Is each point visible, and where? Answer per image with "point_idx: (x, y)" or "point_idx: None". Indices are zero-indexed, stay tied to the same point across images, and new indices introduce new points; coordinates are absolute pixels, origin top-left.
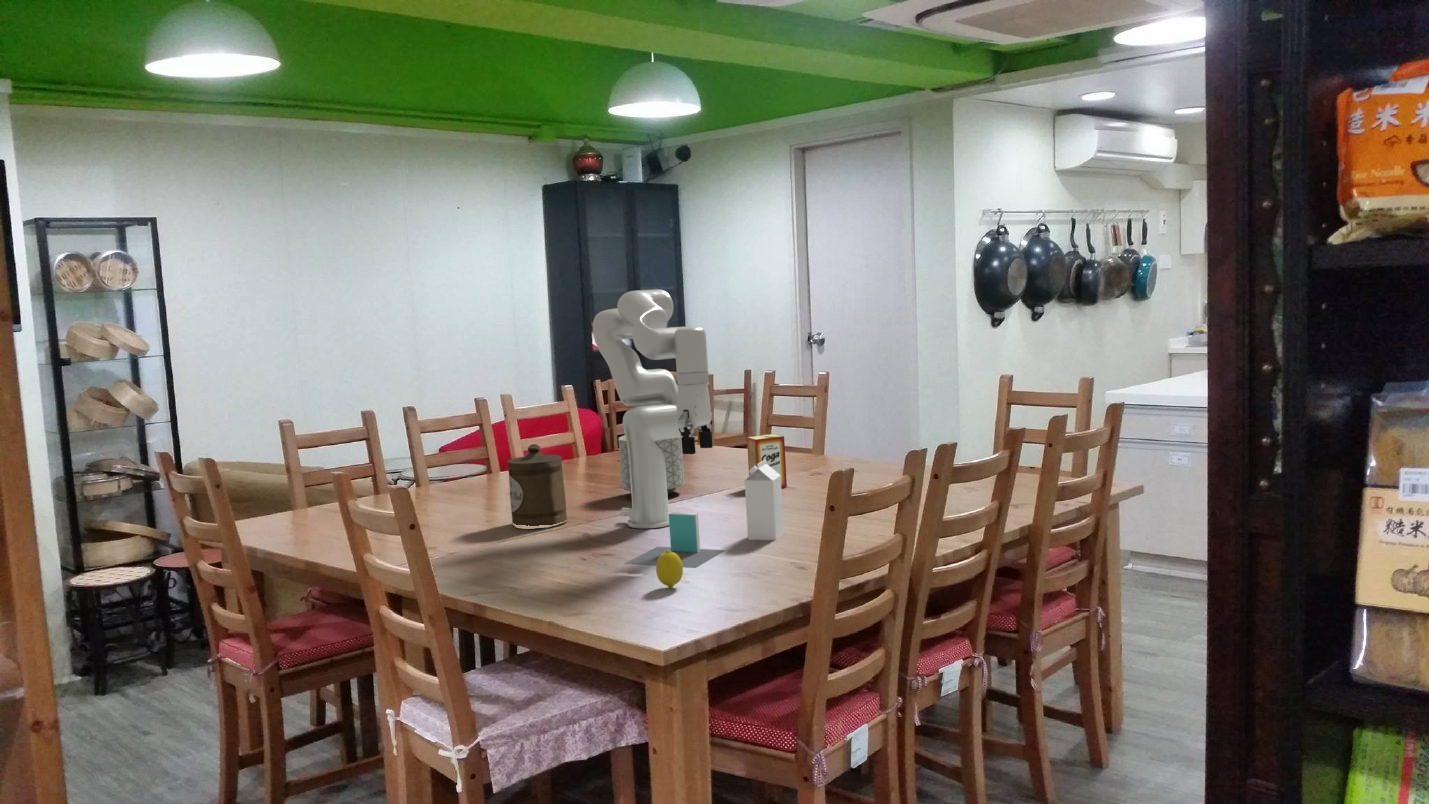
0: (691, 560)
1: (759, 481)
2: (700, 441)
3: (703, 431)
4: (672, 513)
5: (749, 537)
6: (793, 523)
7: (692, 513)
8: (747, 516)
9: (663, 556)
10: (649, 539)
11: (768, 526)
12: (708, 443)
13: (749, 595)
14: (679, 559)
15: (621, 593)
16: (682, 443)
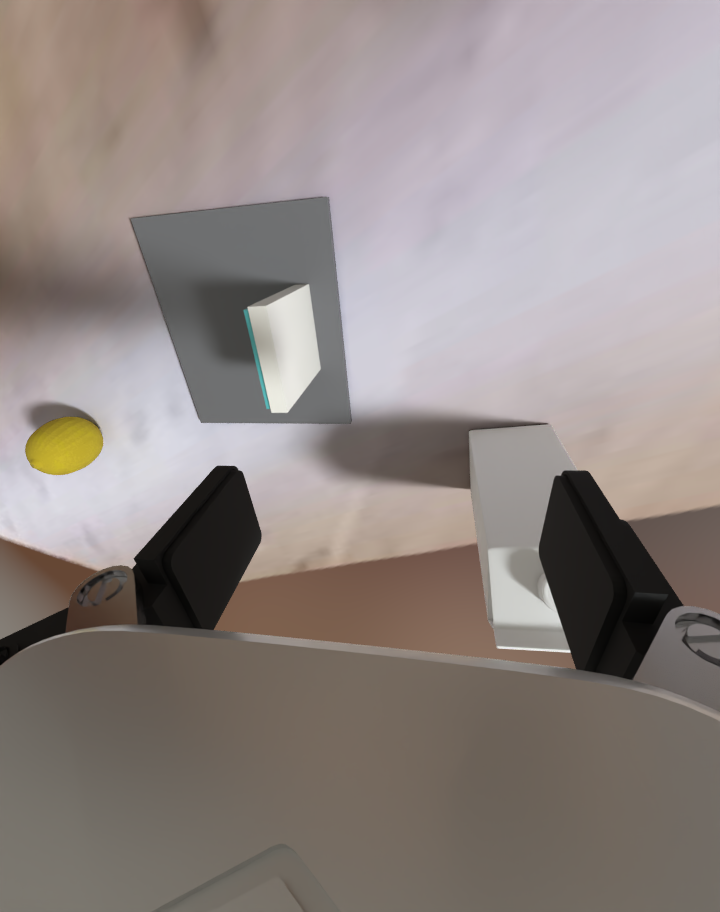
0: (241, 388)
1: (487, 587)
2: (573, 516)
3: (617, 639)
4: (252, 322)
5: (469, 439)
6: (711, 469)
7: (279, 396)
8: (474, 469)
9: (26, 456)
10: (463, 33)
11: (473, 500)
12: (551, 562)
13: (148, 541)
14: (64, 474)
15: (12, 356)
16: (175, 520)
